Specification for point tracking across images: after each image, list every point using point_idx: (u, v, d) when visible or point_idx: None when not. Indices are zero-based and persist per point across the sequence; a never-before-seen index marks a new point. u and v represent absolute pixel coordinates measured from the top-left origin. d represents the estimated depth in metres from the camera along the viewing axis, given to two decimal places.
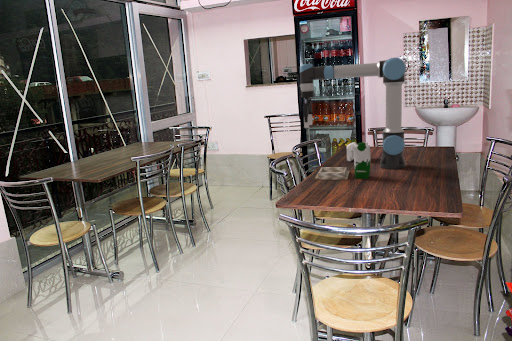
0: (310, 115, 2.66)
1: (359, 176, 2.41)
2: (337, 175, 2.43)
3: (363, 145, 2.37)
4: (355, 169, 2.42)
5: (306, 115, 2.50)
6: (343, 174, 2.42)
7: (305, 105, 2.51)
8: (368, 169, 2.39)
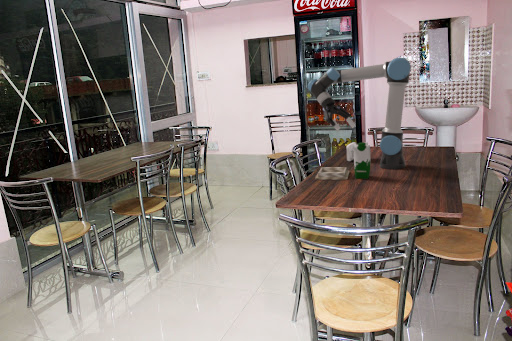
0: (348, 118, 2.53)
1: (359, 176, 2.41)
2: (337, 175, 2.43)
3: (363, 145, 2.37)
4: (355, 169, 2.42)
5: (328, 119, 2.43)
6: (343, 174, 2.42)
7: (325, 112, 2.47)
8: (368, 169, 2.39)
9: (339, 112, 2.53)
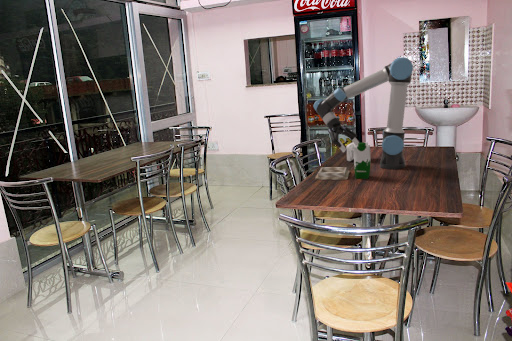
0: (354, 139, 2.51)
1: (359, 176, 2.41)
2: (337, 175, 2.43)
3: (363, 145, 2.37)
4: (355, 169, 2.42)
5: (334, 140, 2.42)
6: (343, 174, 2.42)
7: (330, 133, 2.46)
8: (368, 169, 2.39)
9: (345, 132, 2.52)
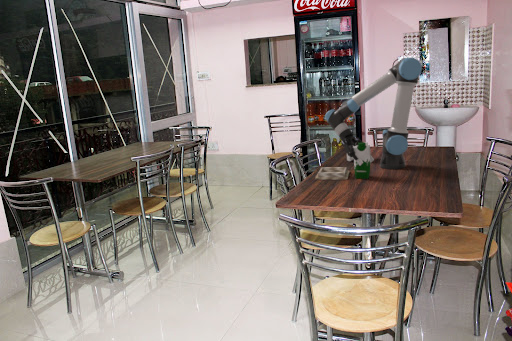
0: None
1: (359, 176, 2.41)
2: (337, 175, 2.43)
3: (363, 145, 2.37)
4: (355, 169, 2.42)
5: (350, 153, 2.38)
6: (343, 174, 2.42)
7: (345, 146, 2.41)
8: (368, 169, 2.39)
9: (357, 144, 2.46)
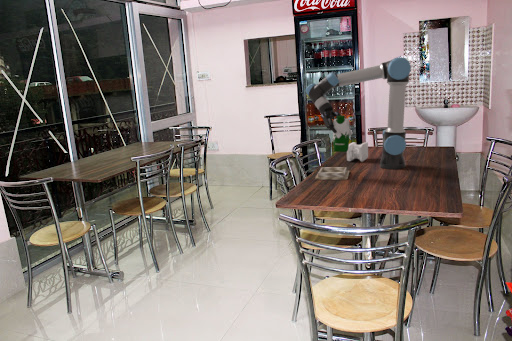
0: None
1: (337, 149, 2.43)
2: (337, 175, 2.43)
3: (342, 118, 2.38)
4: (334, 142, 2.43)
5: (329, 126, 2.39)
6: (343, 174, 2.42)
7: (324, 119, 2.42)
8: (347, 142, 2.41)
9: (336, 118, 2.48)
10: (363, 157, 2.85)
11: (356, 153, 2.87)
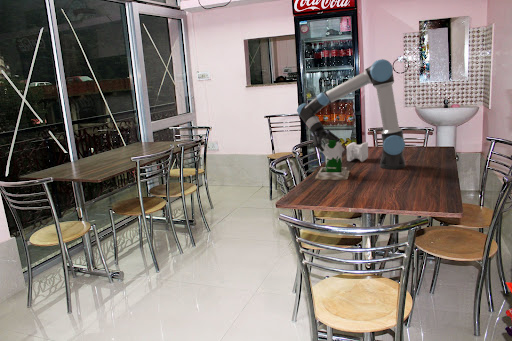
0: None
1: (329, 172, 2.49)
2: (337, 175, 2.43)
3: (333, 142, 2.45)
4: (326, 166, 2.50)
5: (316, 145, 2.44)
6: (343, 174, 2.42)
7: (313, 137, 2.48)
8: (338, 166, 2.47)
9: (328, 137, 2.53)
10: (363, 157, 2.85)
11: (356, 153, 2.87)
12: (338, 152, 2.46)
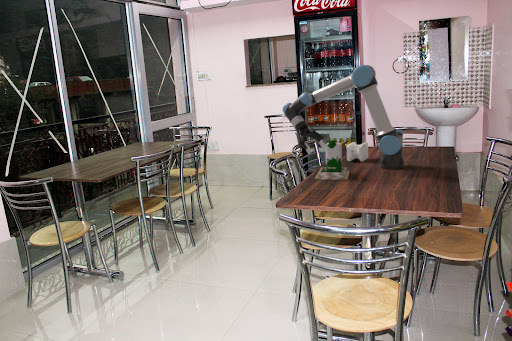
0: (320, 141, 2.63)
1: (329, 172, 2.49)
2: (337, 175, 2.43)
3: (333, 142, 2.45)
4: (326, 166, 2.50)
5: (300, 143, 2.53)
6: (343, 174, 2.42)
7: (297, 136, 2.58)
8: (338, 166, 2.47)
9: (312, 135, 2.63)
10: (363, 157, 2.85)
11: (356, 153, 2.87)
12: (338, 152, 2.46)
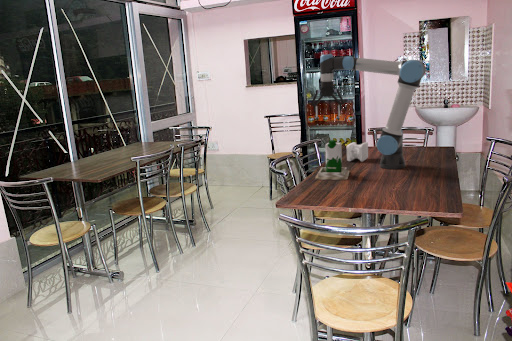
0: (338, 106, 2.60)
1: (329, 172, 2.49)
2: (337, 175, 2.43)
3: (333, 142, 2.45)
4: (326, 166, 2.50)
5: (311, 104, 2.64)
6: (343, 174, 2.42)
7: None
8: (338, 166, 2.47)
9: (333, 97, 2.60)
10: (363, 157, 2.85)
11: (356, 153, 2.87)
12: (338, 152, 2.46)
